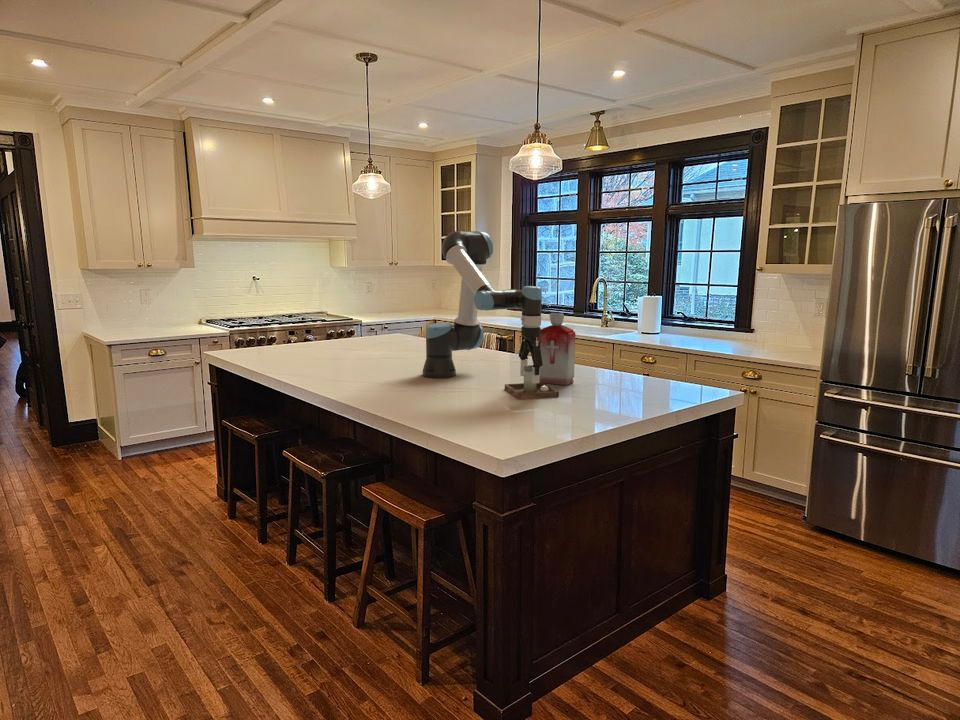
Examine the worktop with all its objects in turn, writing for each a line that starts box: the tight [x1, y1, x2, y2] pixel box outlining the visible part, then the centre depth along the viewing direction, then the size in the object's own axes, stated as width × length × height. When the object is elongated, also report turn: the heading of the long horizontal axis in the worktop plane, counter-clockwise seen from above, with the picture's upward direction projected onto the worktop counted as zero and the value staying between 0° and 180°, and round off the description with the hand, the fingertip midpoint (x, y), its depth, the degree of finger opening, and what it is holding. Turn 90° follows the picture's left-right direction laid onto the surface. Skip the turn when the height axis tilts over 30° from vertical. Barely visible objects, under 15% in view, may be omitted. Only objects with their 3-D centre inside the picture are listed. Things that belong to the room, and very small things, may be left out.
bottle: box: [536, 312, 576, 387], centre depth 264 cm, size 14×10×30 cm
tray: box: [504, 382, 560, 400], centre depth 247 cm, size 18×16×2 cm
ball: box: [540, 385, 549, 392], centre depth 244 cm, size 4×4×4 cm
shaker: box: [523, 364, 537, 393], centre depth 247 cm, size 6×6×11 cm
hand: (529, 379), depth 247 cm, fingers open, 13 cm apart
